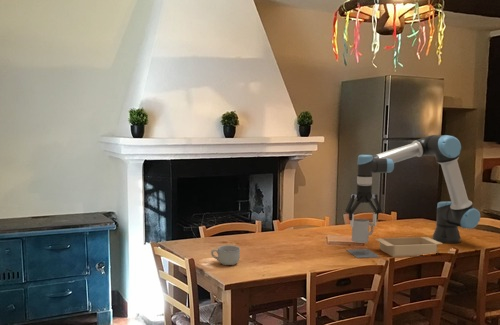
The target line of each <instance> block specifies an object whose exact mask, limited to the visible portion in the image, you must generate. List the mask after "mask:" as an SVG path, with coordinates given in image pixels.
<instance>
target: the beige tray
mask: <svg viewBox="0 0 500 325" xmlns="http://www.w3.org/2000/svg"><path fill="white" fill-rule="evenodd" d="M374 240H375V241H377V242H379V250H381V251H382V252H384V253H385V254H387V255H389V256H391V257H392V258H402V257H403V258H406V257H407V258H408V257H409V258H410V256H411V257H418V256H417V255H423V254H430V253H437V254H438V245H443V244H444V243H443V242H438V241H436V240H433V238H431V237H428V236H412V237H411V236H410V237H408V236H407V237H406V236H405V237H383V238H374Z"/></svg>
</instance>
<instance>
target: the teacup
mask: <svg viewBox="0 0 500 325" xmlns="http://www.w3.org/2000/svg"><path fill="white" fill-rule="evenodd" d="M240 251H241V247H239V246H237V245H233V244H225V245H224V244H223V245H219V246H218V248H213V249H212V250H211V252H210V255H211V257H212V258H213V259H216V261H218V262H219V263H220V264H221V265H223V266H226V265H232V266H234V265H236V264H237V263H238V262H240V258H241V257H240V256H241V252H240ZM214 252H216V253H217V256H216V255H214Z"/></svg>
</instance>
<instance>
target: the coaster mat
mask: <svg viewBox="0 0 500 325" xmlns="http://www.w3.org/2000/svg"><path fill="white" fill-rule="evenodd" d="M346 252H348V253H349V254H351V255H352V256H354V257H355V258H356V259H370V258H371V259H372V258H380V255H378V254H377V253H375V252H373V251H371V249H369V248H361V249H359V248H357V249H356V248H355V249H346Z"/></svg>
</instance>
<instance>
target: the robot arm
mask: <svg viewBox="0 0 500 325" xmlns="http://www.w3.org/2000/svg"><path fill="white" fill-rule="evenodd" d="M461 151H462V144H461V142H460V140H459V139H458V138H457V137H455V136H454V135H447V134H444V135H441V134H433V135H432V134H431V135H427V136H423V137H421V138H419V139H416V140H413V141H412V142H411V143H409V144H406V145H402V146H399V147H395V148H392V149H388V150H386V151H383V152H380V153H377V154H373V155H372V154H359V155H358V156H357V163H356V165H357V170H356V173H357V175H356V183H357V185H356V194H350V199H349V201H348V204H347V206H346V209H345V213H347V214H348V219H349V223H350V224H349V227H351V228H352V227H354V219H355V214H354V212H355V210H356V209H357V208H358V207H359V205H360V204H361V203H362V204H364V203H366V204H368V205H369V206H370V208H371V209H372V211H373V213H372V224H373V227H377V220H379V214H381V213H382V212H383V210H382V207H381V205H380V202H379V199H378V194H377V193H374V194H372V193H373V190H372V189H373V185H372V184H373V174H387V173H389V174H390V173H392V172H393V171H394V169H395V164H396V163H399V162H402V161H405V160H408V159H411V158H415V157H418V158H420V157H425V156H430V157H431V156H432V157H435V160H436V163H438V164H439V165H440V166H441V170H442V174H443V177H444V180H445V183H446V184H445V185H446V187H447V191H448V194H449V199H450V201H439V202H437V207H436V226H435V229H434V232H433V234H432V239H433V240H436V241H438V242H440V243H443V244H444V243H445V244H458V243H461V240H462V238H461V234H460V232H459V227H460V228H463V229H468V230H469V229H471V230H472V229H474V228H475V227H477V226H478V224H479V222H480V221H481V213H480V211H479V209H477V208H474V204H473V202H472V201H471V200H469V198H468V195H467V190H466V188H465V183H464V180H463V176H462V172H461V169H460V165H459V162H458V160H459V158H460V153H461ZM371 199H373V201H372V200H371ZM373 202H374V203H373ZM374 204H375V205H374Z"/></svg>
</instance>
